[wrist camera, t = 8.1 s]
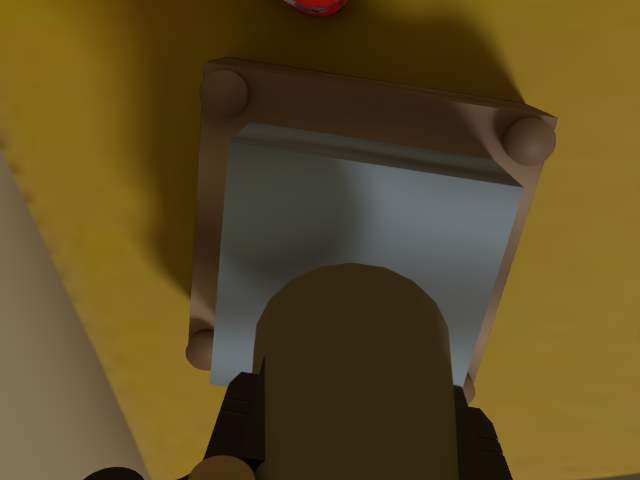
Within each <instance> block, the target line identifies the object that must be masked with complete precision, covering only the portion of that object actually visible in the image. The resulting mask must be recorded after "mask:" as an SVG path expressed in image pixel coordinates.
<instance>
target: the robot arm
mask: <svg viewBox="0 0 640 480" xmlns="http://www.w3.org/2000/svg"><path fill="white" fill-rule="evenodd" d="M453 388H454V400H455V416H456V436H457V456H458V476H459V480H513V479H512V476H511V474H510V471H509V468H508V465H507V463H506V460H505V457H504V456H503V451H502V449H501V446H500V443H498V438H497V435H496V432H495V429H494V427H493V424H492V422H491V421H490V420H489V419H488V418H487V417H486V415H485V414H484V413H483V412H482V411H481V409H480V408H474V407H468V404H467V401H466V397H465V394H464V391H463V388H462V387H461V386H458V385H453ZM264 461H265V356H264V358H263V362H262V365H261V369H260V373H259V377H258V374H253V373H247V372H240V373H239V374H238V375H237V376H236V377H235V378H234V379H233V380H232V381H231V382H230V383H229V385H228V388H227V391H226V394H225V397H224V400H223V403H222V406H221V409H220V412H219V415H218V418H217V421H216V424H215V427H214V430H213V433H212V435H211V438H210V441H209V444H208V447H207V450H206V453H205V456H204V458H203V461H202V462H200V463H199V464H198V465H196V466H195V467H194V469H193V470H192V471H191V473H190V474H188V475H187V476H185V477H182V478H180V479H177V480H255V477H254V473H255V471H256V470H257V468H258V466H259V465H260V464H262V463H263V462H264ZM84 480H144V479H143V477H142V476H141V475H140V474H139V473H137V472H136V471H134V470H131V469H129V468H124V467H111V468H105V469H102V470H99V471H97V472H94V473H92V474H91V475H89V476H88V477H86V478H85V479H84Z"/></svg>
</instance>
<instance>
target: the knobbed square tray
mask: <svg viewBox="0 0 640 480" xmlns="http://www.w3.org/2000/svg"><path fill="white" fill-rule="evenodd" d="M200 99H201V102H202V108H201V126H200V144H199V162H198V180H197V198H196V216H195V234H194V252H193V270H192V287H191V305H190V323H189V341H188V346H187V348H186V357H187V359H188V361H189V362H190V364H192V365H193V366H194V367H196V368H198V369H201V370H211V377H210V384H215V385H221V386H228V385H229V383H230V382H231V381H232V380H233V379H234V378H235V377H236V376H237V375H238V374H239V373H240V372H247V373H252V366H253V352H254V343H255V334H256V325H257V322H258V320H259V318H260V317H261V315H262V313H263V311H264V309H265V307H266V305H267V303H268V301H269V300H270V299H271V298H272V297H273V296H274V295H275V294H276V293H277V292H278V291H279V290H280V289H281V288H283V287H284V286H285V285H286V284H287V283H288V282H289V281H290V280H292V279H294V278H296V277H298V276H300V275H303V274H305V273H307V272H309V271H311V270H314V269H316V268H318V267H321V266H329V265H336V264H344V263H352V262H353V263H359V264H366V265H372V266H379V267H385V268H387V269H389V270H391V271H393V272H396V273H398V274H400V275H402V276H404V277H406V278H408V279H410V280H412V281H414V282H415V283H416V284H417V285H418V286H419V287H420V288H421V289H423V290H424V291H425V292H426V293H427V294H428V295H429V296H430V297H431V298H432V299H433V300H434V301H435V302H436V304H437V306H438V308H439V310H440V312H441V314H442V316H443V318H444V320H445V322H446V324H447V326H448V330H449V341H450V352H451V364H452V375H453V385H458V386H461V387H462V388H463V391H464V394H465V397H466V401H467V404H469V403H470V402H471V401H472V400H473V398H474V396H475V388H474V385H473V384H474V381H475V377H476V374H477V371H478V368H479V365H480V362H481V359H482V355H483V352H484V349H485V346H486V343H487V340H488V337H489V333H490V330H491V327H492V324H493V321H494V318H495V315H496V311H497V308H498V305H499V302H500V299H501V296H502V293H503V289H504V286H505V283H506V280H507V277H508V274H509V271H510V267H511V264H512V261H513V258H514V255H515V252H516V249H517V245H518V242H519V239H520V236H521V233H522V230H523V227H524V223H525V220H526V217H527V214H528V211H529V208H530V205H531V201H532V198H533V195H534V192H535V189H536V186H537V183H538V179H539V176H540V173H541V170H542V167H543V164H544V161H545V160H546V159H547V158H548V157H549V156H550V155H551V154H552V152H553V150H554V148H555V145H556V135H555V132H554V129H555V126H556V123H557V120H558V118H557V117H555V116H553V115H550V114H548V113H546V112H543V111H541V110H539V109H537V108H534V107H532V106H530V105H527V104H523V103H517V102H511V101H504V100H498V99H491V98H485V97H479V96H472V95H466V94H460V93H453V92H447V91H440V90H434V89H428V88H421V87H415V86H409V85H402V84H396V83H389V82H383V81H377V80H370V79H364V78H358V77H351V76H345V75H338V74H332V73H326V72H319V71H313V70H307V69H300V68H294V67H287V66H281V65H275V64H268V63H262V62H256V61H249V60H243V59H236V58H230V57H224V58H220V59H216V60H212V61H208V62H204V72H203V81H202V84H201V87H200Z"/></svg>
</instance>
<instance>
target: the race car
mask: <svg viewBox="0 0 640 480" xmlns="http://www.w3.org/2000/svg"><path fill="white" fill-rule="evenodd" d="M281 1H283V2H284V3H286V4H288V5H290V6H291V7H293V8H294V9H296V10H298V11H299V12H301V13H304V14H307V15H310V16H314V17H327V16H330V15H333V14H334V13H335V12H337V13H339V12H340V8H341V9H342V8H343V6H344V4H345V3H347V1H348V0H281Z"/></svg>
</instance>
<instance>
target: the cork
mask: <svg viewBox="0 0 640 480" xmlns="http://www.w3.org/2000/svg"><path fill="white" fill-rule="evenodd" d="M264 356H265V461H264V462H263V463H262V464H260V465H259V466H258V468H257V470H256V471H255V473H254V477H255V480H459V476H458V456H457V436H456V416H455V400H454V388H453V375H452V364H451V352H450V341H449V330H448V326H447V324H446V322H445V320H444V318H443V316H442V314H441V312H440V310H439V308H438V306H437V304H436V302H435V301H434V300H433V299H432V298H431V297H430V296H429V295H428V294H427V293H426V292H425V291H424V290H423V289H421V288H420V287H419V286H418V285H417V284H416V283H415V282H414V281H412V280H410V279H408V278H406V277H404V276H402V275H400V274H398V273H396V272H393V271H391V270H389V269H387V268H385V267H379V266H372V265H366V264H359V263H353V262H352V263H344V264H336V265H329V266H321V267H318V268H316V269H314V270H311V271H309V272H307V273H305V274H303V275H300V276H298V277H296V278H294V279H292V280H290V281H289V282H288V283H287V284H286V285H285V286H284V287H283V288H281V289H280V290H279V291H278V292H277V293H276V294H275V295H274V296H273V297H272V298H271V299H270V300H269V301H268V303H267V305H266V307H265V309H264V311H263V313H262V315H261V317H260V318H259V320H258V322H257V325H256V334H255V343H254V352H253V366H252V373H253V374H258V377H259V373H260V369H261V365H262V362H263V358H264Z"/></svg>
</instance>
